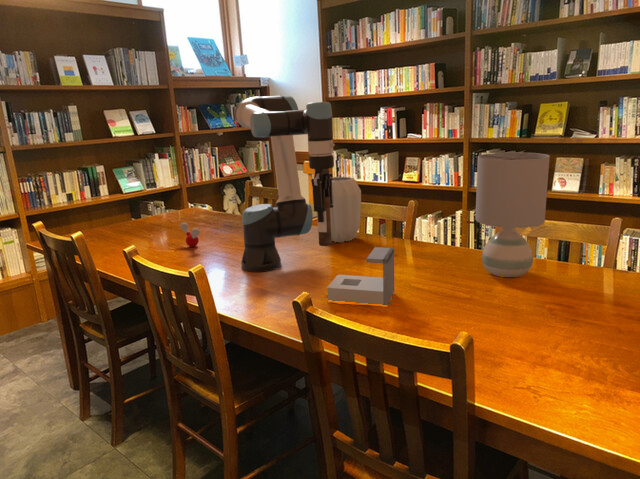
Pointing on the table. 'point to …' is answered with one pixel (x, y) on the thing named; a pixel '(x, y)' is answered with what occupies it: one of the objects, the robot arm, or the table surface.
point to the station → (366, 282)
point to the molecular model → (190, 235)
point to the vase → (345, 209)
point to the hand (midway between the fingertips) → (324, 229)
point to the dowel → (326, 236)
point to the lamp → (510, 207)
